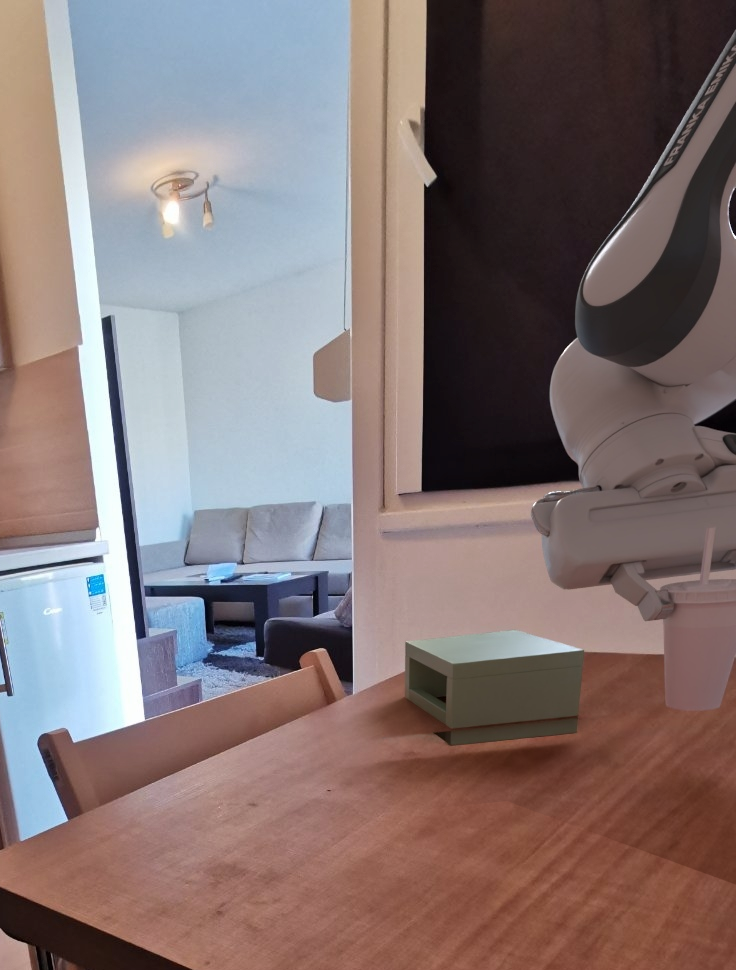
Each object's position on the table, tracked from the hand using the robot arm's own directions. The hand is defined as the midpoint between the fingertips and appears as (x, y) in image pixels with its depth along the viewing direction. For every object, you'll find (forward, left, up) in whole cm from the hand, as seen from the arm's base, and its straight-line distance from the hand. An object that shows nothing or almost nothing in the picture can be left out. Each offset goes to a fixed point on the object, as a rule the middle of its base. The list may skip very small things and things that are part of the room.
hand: (711, 609), depth 60 cm
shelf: (+10, -17, -12) cm, 23 cm away
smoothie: (0, -1, -8) cm, 8 cm away
